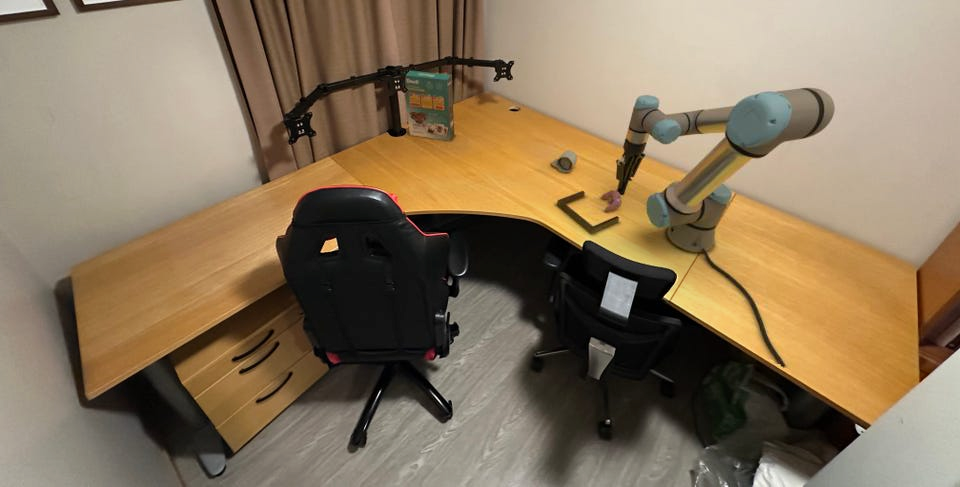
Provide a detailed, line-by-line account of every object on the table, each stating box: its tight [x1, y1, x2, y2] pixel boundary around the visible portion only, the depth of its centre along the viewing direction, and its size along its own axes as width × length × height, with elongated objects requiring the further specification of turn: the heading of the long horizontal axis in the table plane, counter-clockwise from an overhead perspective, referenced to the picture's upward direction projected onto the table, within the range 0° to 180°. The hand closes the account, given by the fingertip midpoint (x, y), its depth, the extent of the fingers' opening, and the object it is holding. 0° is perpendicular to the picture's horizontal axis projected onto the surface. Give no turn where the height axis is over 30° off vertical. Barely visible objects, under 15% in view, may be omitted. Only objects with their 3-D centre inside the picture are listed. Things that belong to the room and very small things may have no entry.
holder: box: [556, 190, 620, 235], centre depth 154 cm, size 20×13×2 cm, turn 31°
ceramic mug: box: [551, 150, 578, 173], centre depth 177 cm, size 11×8×8 cm
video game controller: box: [600, 189, 622, 213], centre depth 157 cm, size 10×5×7 cm, turn 177°
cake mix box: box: [404, 70, 455, 142], centre depth 192 cm, size 22×6×30 cm, turn 74°
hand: (620, 193), depth 159 cm, fingers closed
